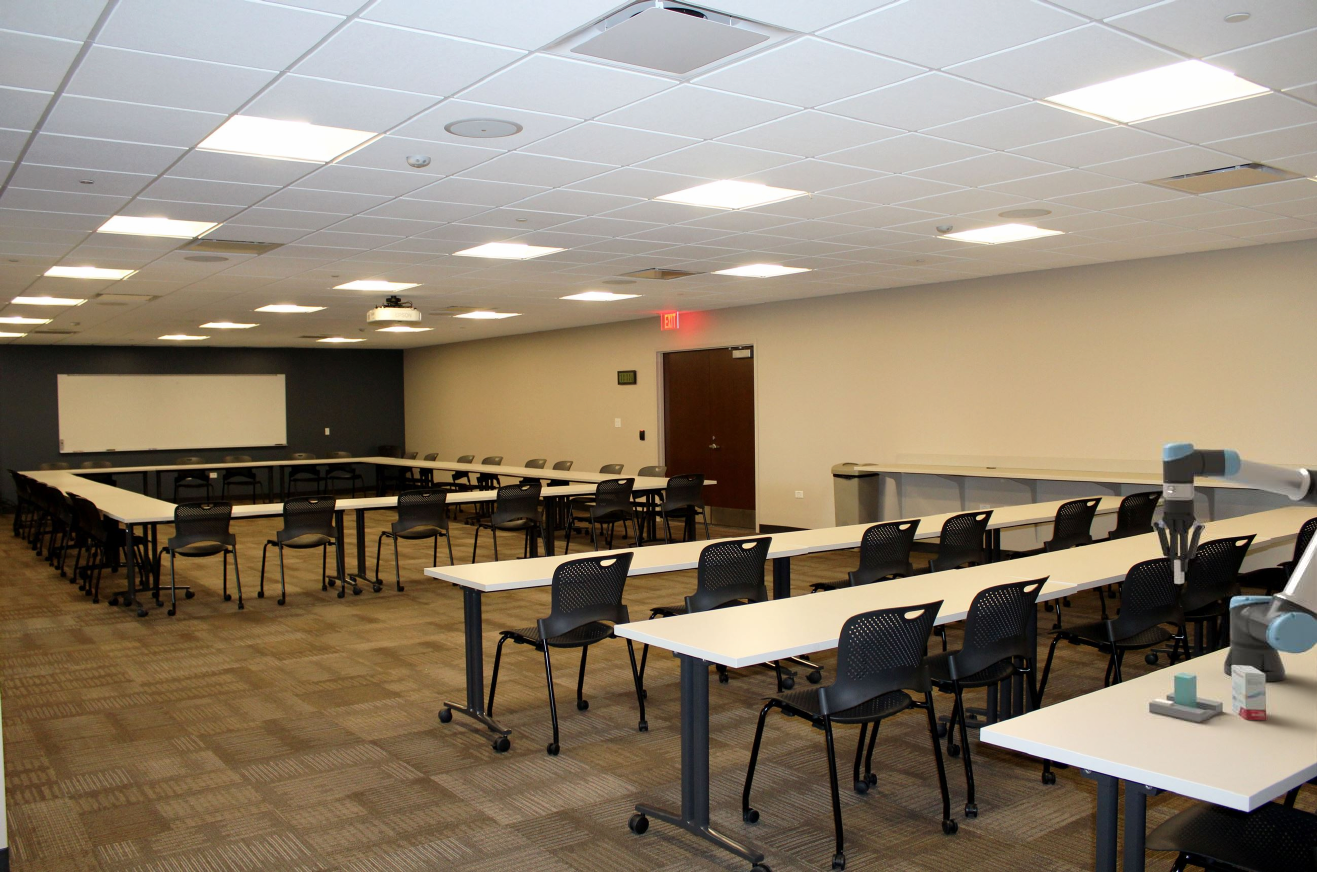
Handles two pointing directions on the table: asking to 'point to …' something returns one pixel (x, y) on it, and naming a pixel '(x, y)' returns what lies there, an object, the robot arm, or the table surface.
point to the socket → (1186, 709)
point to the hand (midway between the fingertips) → (1179, 582)
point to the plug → (1185, 690)
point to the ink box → (1248, 692)
